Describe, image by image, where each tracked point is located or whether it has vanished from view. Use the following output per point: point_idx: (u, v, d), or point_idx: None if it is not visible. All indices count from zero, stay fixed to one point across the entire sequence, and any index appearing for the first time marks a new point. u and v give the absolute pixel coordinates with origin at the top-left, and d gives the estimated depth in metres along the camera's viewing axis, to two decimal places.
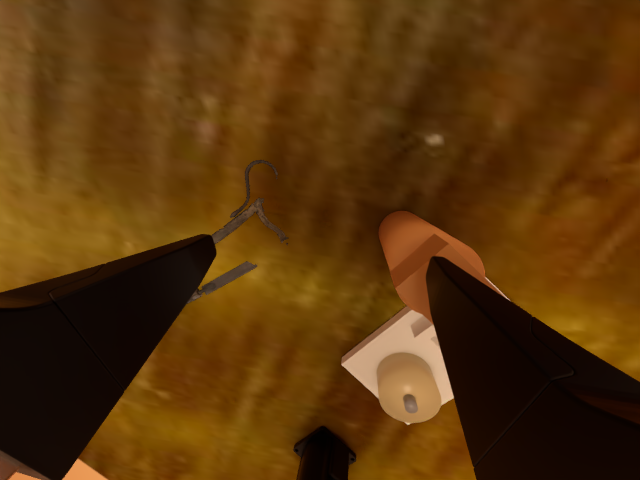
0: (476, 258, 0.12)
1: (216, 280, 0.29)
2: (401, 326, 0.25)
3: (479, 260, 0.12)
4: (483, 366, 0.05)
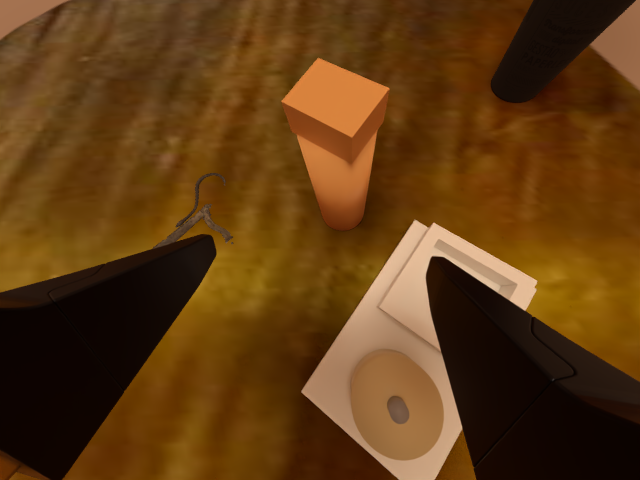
0: None
1: None
2: (365, 309, 0.20)
3: None
4: (483, 366, 0.05)
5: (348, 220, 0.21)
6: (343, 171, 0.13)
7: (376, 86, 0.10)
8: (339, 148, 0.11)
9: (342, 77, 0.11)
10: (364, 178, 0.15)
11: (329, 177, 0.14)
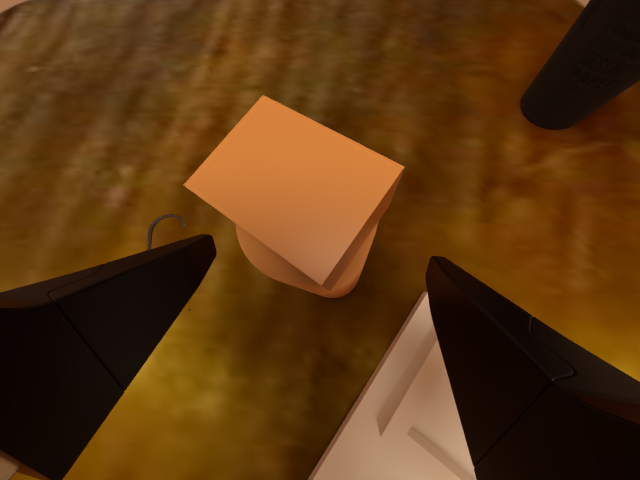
0: None
1: None
2: (361, 423, 0.14)
3: None
4: (483, 366, 0.05)
5: (337, 295, 0.15)
6: (318, 287, 0.07)
7: (376, 160, 0.05)
8: None
9: (307, 137, 0.05)
10: (357, 272, 0.09)
11: None
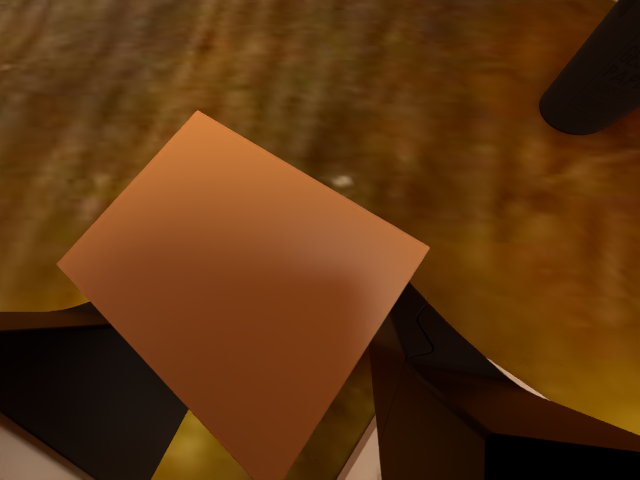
0: None
1: None
2: None
3: None
4: (383, 350, 0.06)
5: None
6: None
7: (378, 233, 0.03)
8: None
9: (262, 185, 0.03)
10: None
11: None
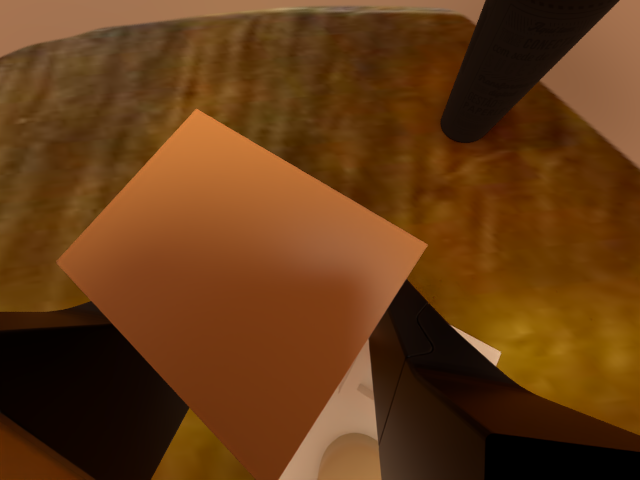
0: None
1: None
2: None
3: None
4: (383, 350, 0.06)
5: None
6: None
7: (376, 230, 0.03)
8: None
9: (260, 183, 0.03)
10: None
11: None
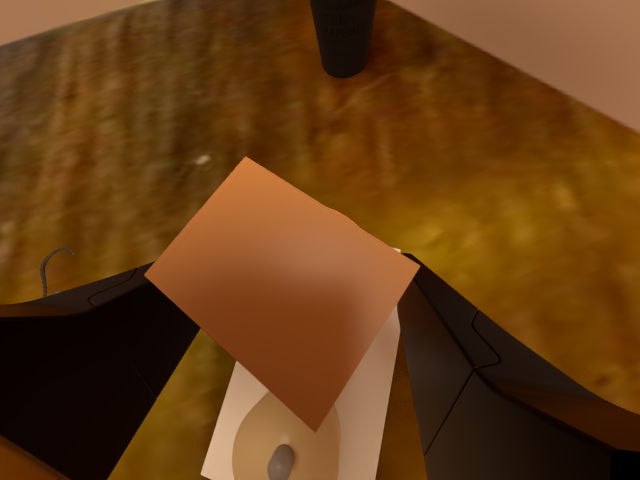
0: None
1: None
2: None
3: None
4: (431, 358, 0.05)
5: None
6: None
7: (384, 255, 0.04)
8: None
9: (299, 217, 0.04)
10: None
11: None
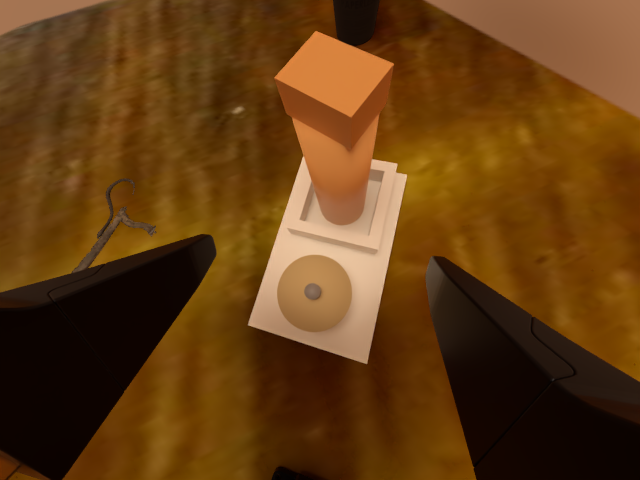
0: None
1: None
2: (283, 239, 0.23)
3: None
4: (483, 366, 0.05)
5: (347, 213, 0.20)
6: (341, 158, 0.12)
7: (379, 61, 0.09)
8: (337, 131, 0.10)
9: (342, 52, 0.10)
10: (364, 167, 0.14)
11: (326, 165, 0.13)
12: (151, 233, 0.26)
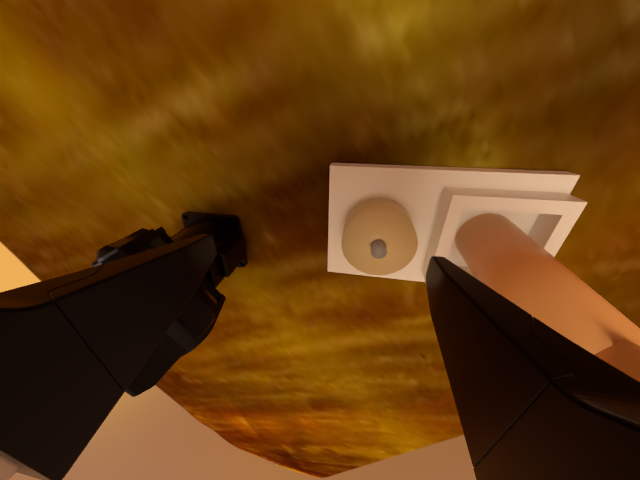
0: None
1: None
2: (437, 179, 0.18)
3: None
4: (483, 366, 0.05)
5: (467, 264, 0.18)
6: None
7: None
8: None
9: None
10: None
11: None
12: None
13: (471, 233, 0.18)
